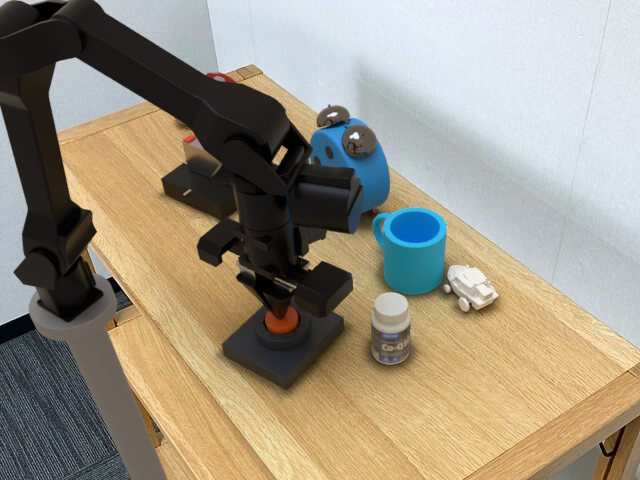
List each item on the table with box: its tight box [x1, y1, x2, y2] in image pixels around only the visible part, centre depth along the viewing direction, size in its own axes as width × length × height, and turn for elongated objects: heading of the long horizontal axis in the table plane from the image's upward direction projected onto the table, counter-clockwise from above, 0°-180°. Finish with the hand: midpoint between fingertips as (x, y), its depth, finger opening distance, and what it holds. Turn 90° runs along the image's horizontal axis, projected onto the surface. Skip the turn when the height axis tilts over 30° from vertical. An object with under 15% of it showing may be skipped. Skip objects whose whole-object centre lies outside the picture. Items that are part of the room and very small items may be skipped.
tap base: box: [160, 160, 237, 221], centre depth 116 cm, size 12×12×3 cm
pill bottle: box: [370, 291, 412, 366], centre depth 91 cm, size 5×5×8 cm
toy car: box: [443, 264, 500, 313], centre depth 98 cm, size 5×8×4 cm, turn 31°
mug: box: [371, 206, 448, 296], centre depth 101 cm, size 12×8×8 cm
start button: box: [265, 307, 299, 334], centre depth 93 cm, size 4×4×2 cm
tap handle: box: [181, 134, 229, 186], centre depth 113 cm, size 8×2×5 cm, turn 55°
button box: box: [221, 295, 346, 391], centre depth 94 cm, size 12×10×4 cm
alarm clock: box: [309, 103, 391, 215], centre depth 108 cm, size 13×6×15 cm, turn 32°
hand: (281, 316), depth 92 cm, fingers closed, pressing on start button
